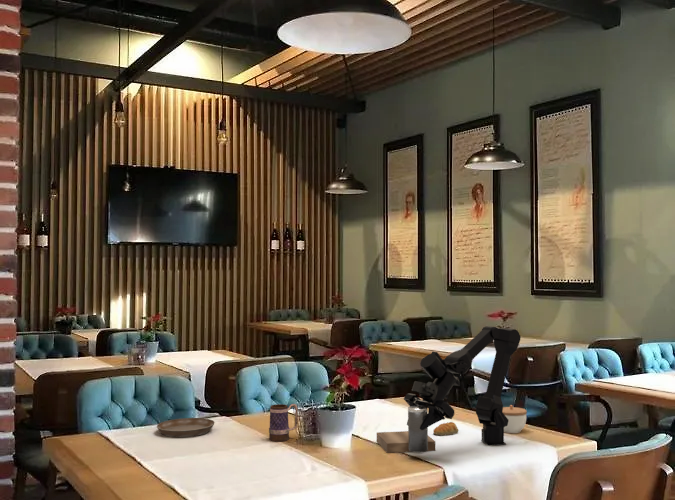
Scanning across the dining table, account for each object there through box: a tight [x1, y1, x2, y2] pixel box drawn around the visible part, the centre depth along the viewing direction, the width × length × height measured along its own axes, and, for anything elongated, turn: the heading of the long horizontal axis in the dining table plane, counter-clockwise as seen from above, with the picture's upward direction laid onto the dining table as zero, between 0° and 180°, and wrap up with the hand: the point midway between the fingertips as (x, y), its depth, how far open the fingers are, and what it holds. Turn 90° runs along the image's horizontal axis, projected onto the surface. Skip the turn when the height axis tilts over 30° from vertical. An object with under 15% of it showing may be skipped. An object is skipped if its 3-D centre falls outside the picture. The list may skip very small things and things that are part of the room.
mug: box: [268, 403, 299, 443], centre depth 256 cm, size 10×7×12 cm
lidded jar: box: [502, 404, 528, 434], centre depth 267 cm, size 11×11×9 cm
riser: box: [376, 430, 436, 454], centre depth 246 cm, size 16×16×3 cm
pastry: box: [433, 421, 459, 437], centre depth 264 cm, size 9×7×4 cm
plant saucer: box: [156, 417, 216, 438], centre depth 269 cm, size 21×21×3 cm
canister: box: [407, 406, 429, 453], centre depth 230 cm, size 6×6×13 cm
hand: (414, 427), depth 229 cm, fingers closed on canister, 6 cm apart
